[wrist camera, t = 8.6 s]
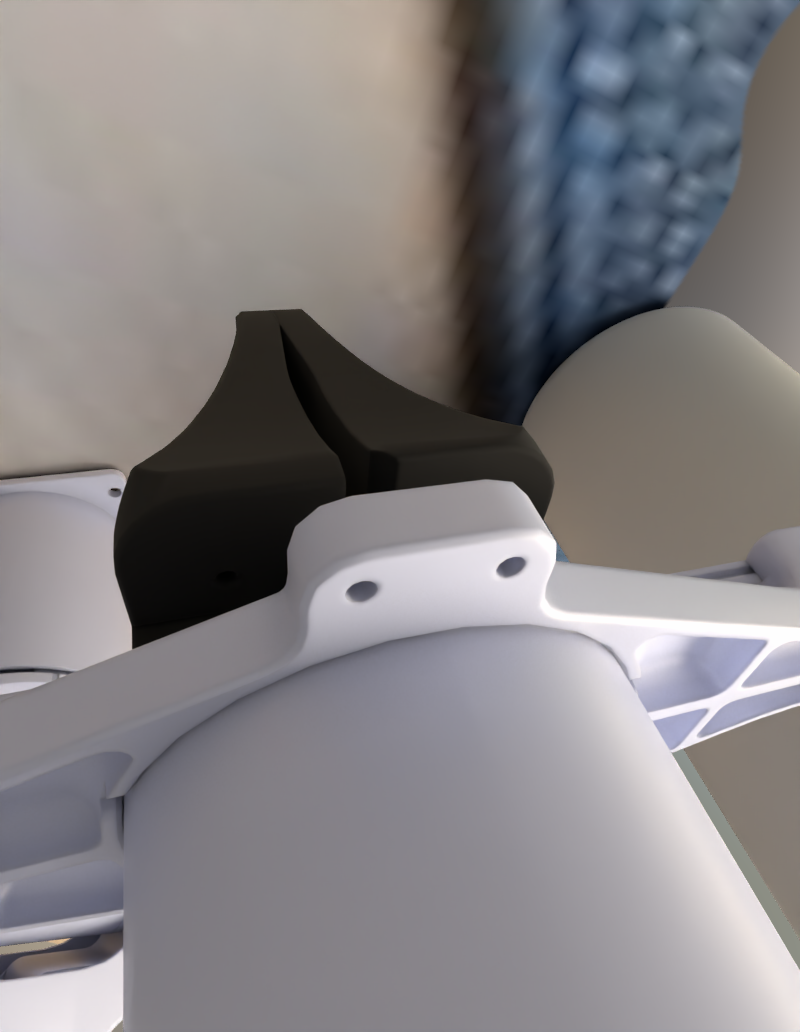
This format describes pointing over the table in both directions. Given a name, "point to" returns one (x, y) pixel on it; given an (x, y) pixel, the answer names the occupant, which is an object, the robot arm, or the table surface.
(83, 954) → the robot arm
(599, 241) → the table surface
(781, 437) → the cylinder vase
